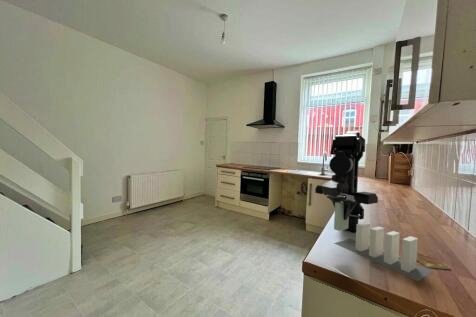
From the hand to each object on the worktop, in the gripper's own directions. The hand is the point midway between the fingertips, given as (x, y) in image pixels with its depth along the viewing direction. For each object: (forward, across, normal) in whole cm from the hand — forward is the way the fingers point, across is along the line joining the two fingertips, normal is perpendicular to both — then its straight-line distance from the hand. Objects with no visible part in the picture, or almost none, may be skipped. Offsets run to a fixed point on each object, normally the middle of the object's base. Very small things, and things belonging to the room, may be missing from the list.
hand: (342, 218), depth 68 cm
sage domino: (+3, 0, 0) cm, 3 cm away
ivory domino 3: (+12, +10, +10) cm, 19 cm away
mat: (+12, +6, +10) cm, 17 cm away
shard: (+13, +15, +20) cm, 28 cm away
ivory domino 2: (+12, +6, +10) cm, 17 cm away
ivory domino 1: (+12, +1, +10) cm, 16 cm away
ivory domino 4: (+12, +15, +10) cm, 21 cm away
